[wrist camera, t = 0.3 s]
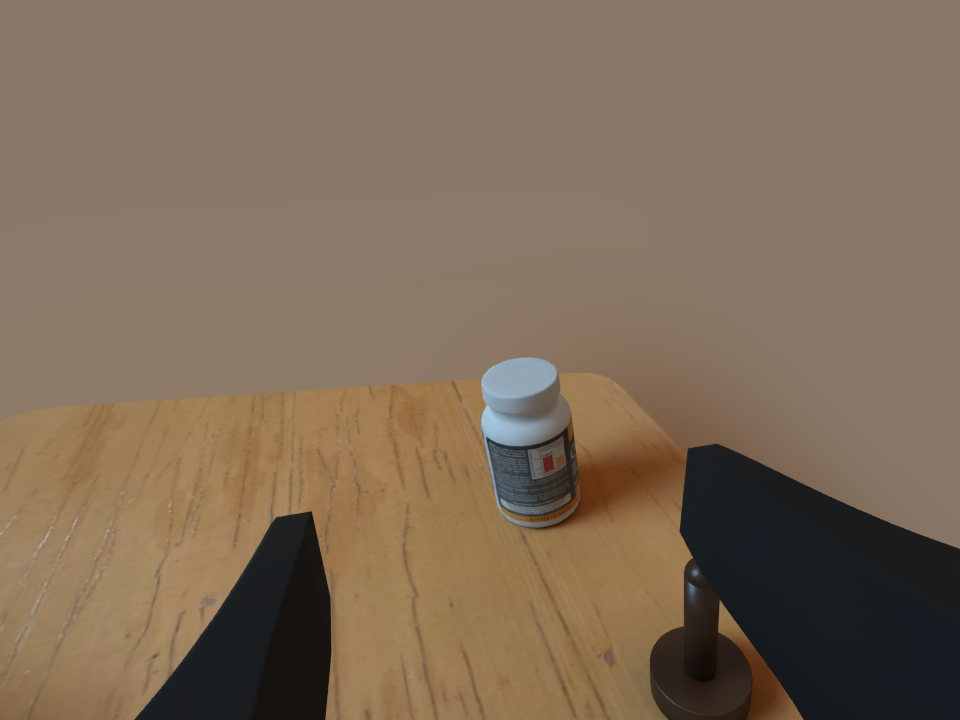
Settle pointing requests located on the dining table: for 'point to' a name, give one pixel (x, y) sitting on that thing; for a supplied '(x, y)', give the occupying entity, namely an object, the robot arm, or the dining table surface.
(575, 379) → the dining table surface
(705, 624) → the joystick
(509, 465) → the pill bottle
